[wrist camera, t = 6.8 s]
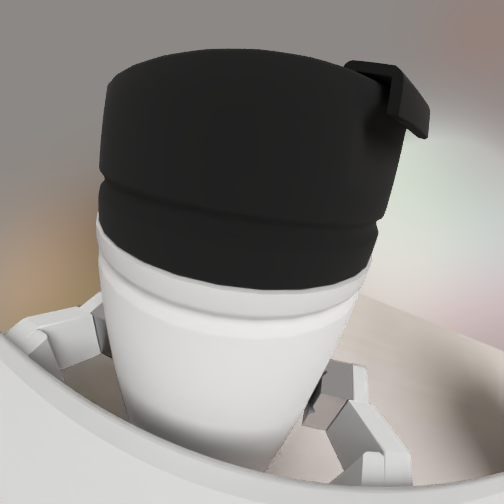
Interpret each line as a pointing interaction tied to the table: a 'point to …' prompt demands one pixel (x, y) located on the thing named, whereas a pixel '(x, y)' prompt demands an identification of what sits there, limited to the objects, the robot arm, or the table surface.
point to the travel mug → (240, 233)
